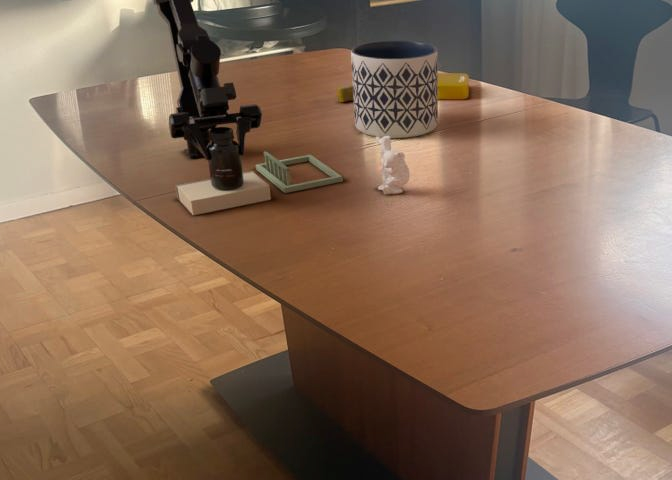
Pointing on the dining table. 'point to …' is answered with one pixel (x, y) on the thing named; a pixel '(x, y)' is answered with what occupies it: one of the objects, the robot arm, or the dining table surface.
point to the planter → (395, 88)
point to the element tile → (453, 86)
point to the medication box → (345, 93)
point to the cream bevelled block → (222, 194)
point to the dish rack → (277, 164)
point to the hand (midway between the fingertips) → (225, 157)
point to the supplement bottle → (224, 159)
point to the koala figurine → (392, 168)
